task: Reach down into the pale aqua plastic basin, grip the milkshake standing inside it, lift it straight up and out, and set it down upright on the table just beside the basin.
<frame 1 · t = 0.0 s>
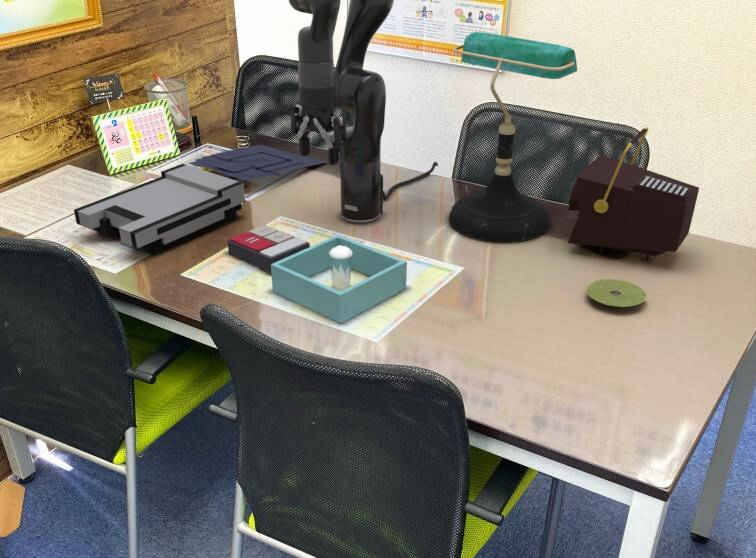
hand: (319, 159, 186), 17 cm above the table, tool pointing down, fingers open, 8 cm apart
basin: (339, 290, 173), on the table
banker's lamp: (498, 222, 201), on the table
green flat disc: (614, 301, 169), on the table
game console: (165, 228, 199), on the table
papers: (257, 170, 229), on the table
red and gray box: (269, 257, 187), on the table
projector: (624, 250, 188), on the table
milkshake: (339, 290, 174), resting in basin
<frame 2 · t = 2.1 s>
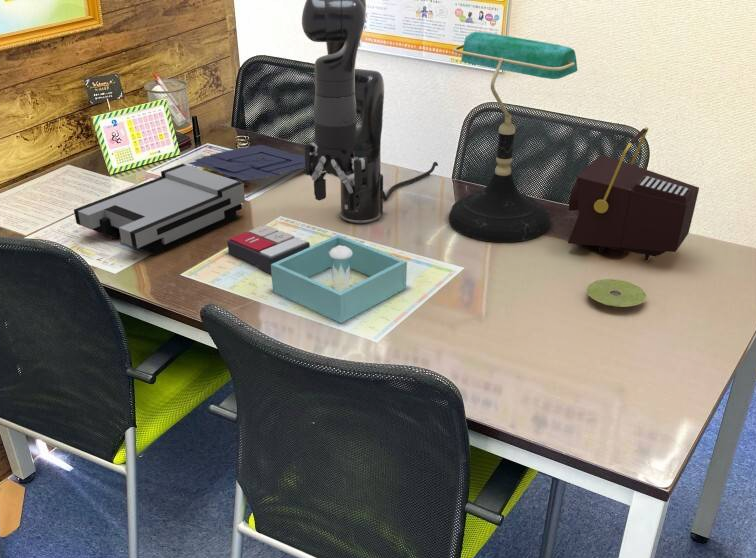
hand: (336, 204, 163), 18 cm above the table, tool pointing down, fingers open, 8 cm apart
nothing on the table moved.
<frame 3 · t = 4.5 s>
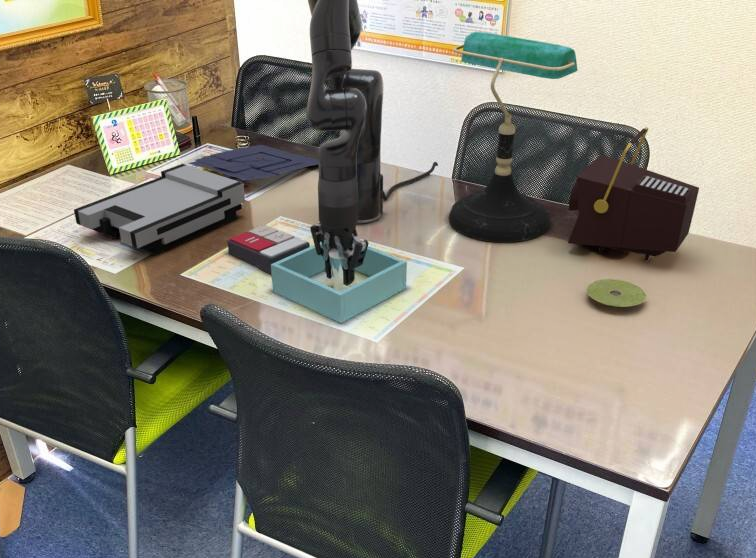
hand: (339, 280, 172), 2 cm above the table, tool pointing down, fingers closed on milkshake, 4 cm apart
milkshake: (339, 290, 174), resting in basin, touching gripper
everything else where it was.
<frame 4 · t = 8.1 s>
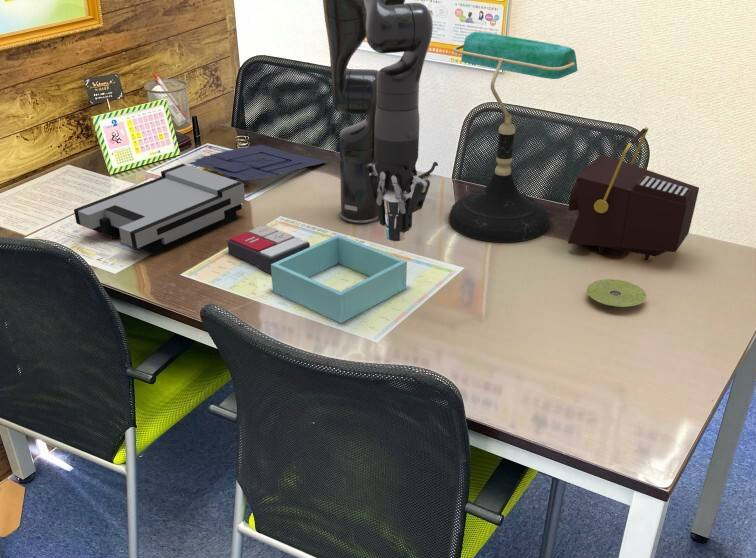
hand: (394, 227, 155), 18 cm above the table, tool pointing down, fingers closed on milkshake, 4 cm apart
milkshake: (393, 239, 157), point 15 cm above the table, touching gripper
everything else where it was.
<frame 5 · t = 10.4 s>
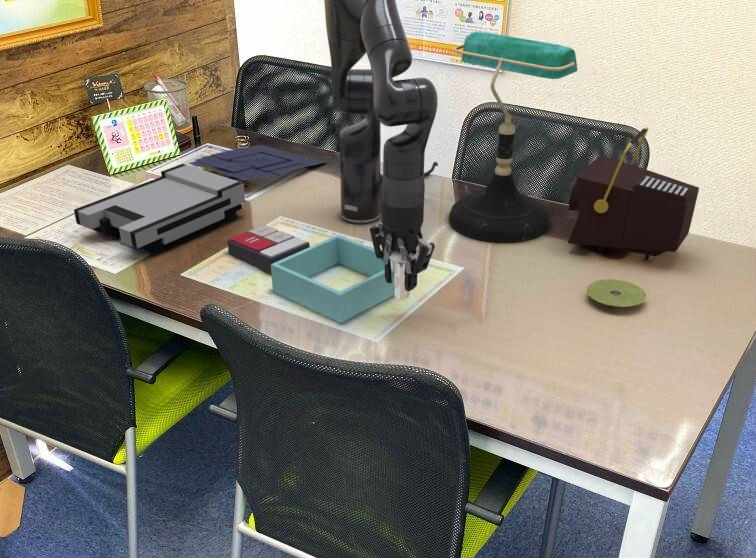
hand: (400, 285, 161), 7 cm above the table, tool pointing down, fingers closed on milkshake, 4 cm apart
milkshake: (399, 296, 162), point 4 cm above the table, touching gripper
everything else where it was.
when the fingers open (2 cm above the table, at t = 11.9 s): milkshake stays where it is, on the table.
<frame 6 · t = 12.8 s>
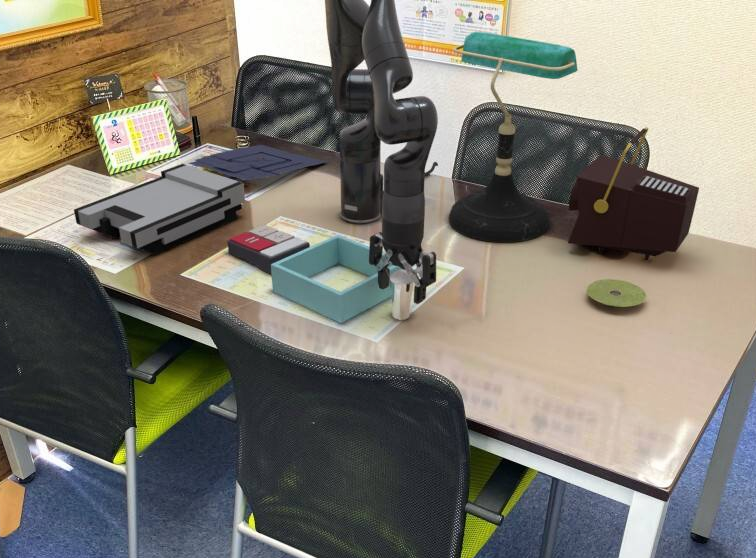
hand: (401, 294, 162), 5 cm above the table, tool pointing down, fingers open, 8 cm apart
milkshake: (399, 316, 165), on the table
everything else where it was.
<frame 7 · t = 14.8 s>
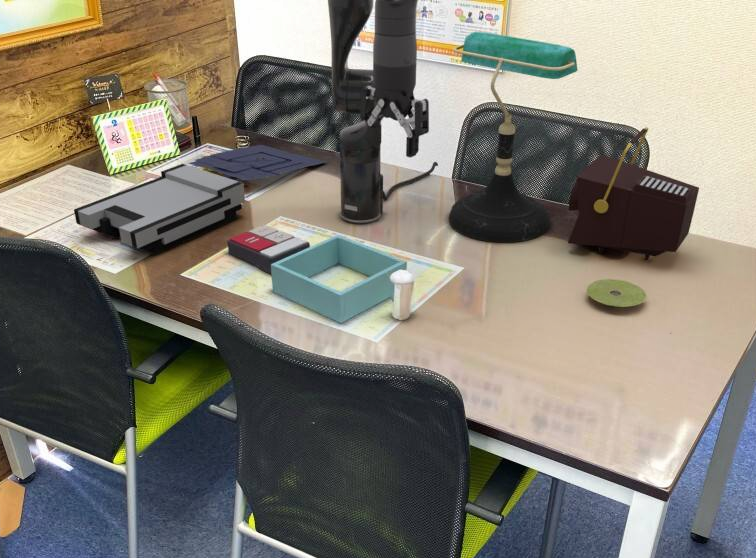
hand: (393, 150, 159), 28 cm above the table, tool pointing down, fingers open, 8 cm apart
nothing on the table moved.
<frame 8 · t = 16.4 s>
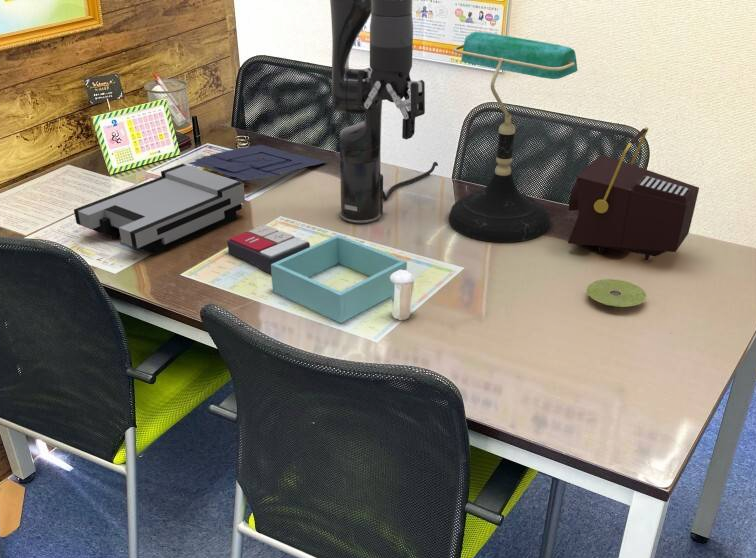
hand: (389, 133, 160), 30 cm above the table, tool pointing down, fingers open, 8 cm apart
nothing on the table moved.
at the end: milkshake inside the target area (0.8 cm from its centre), on the table; milkshake tilted 0°; the gripper is holding nothing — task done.
